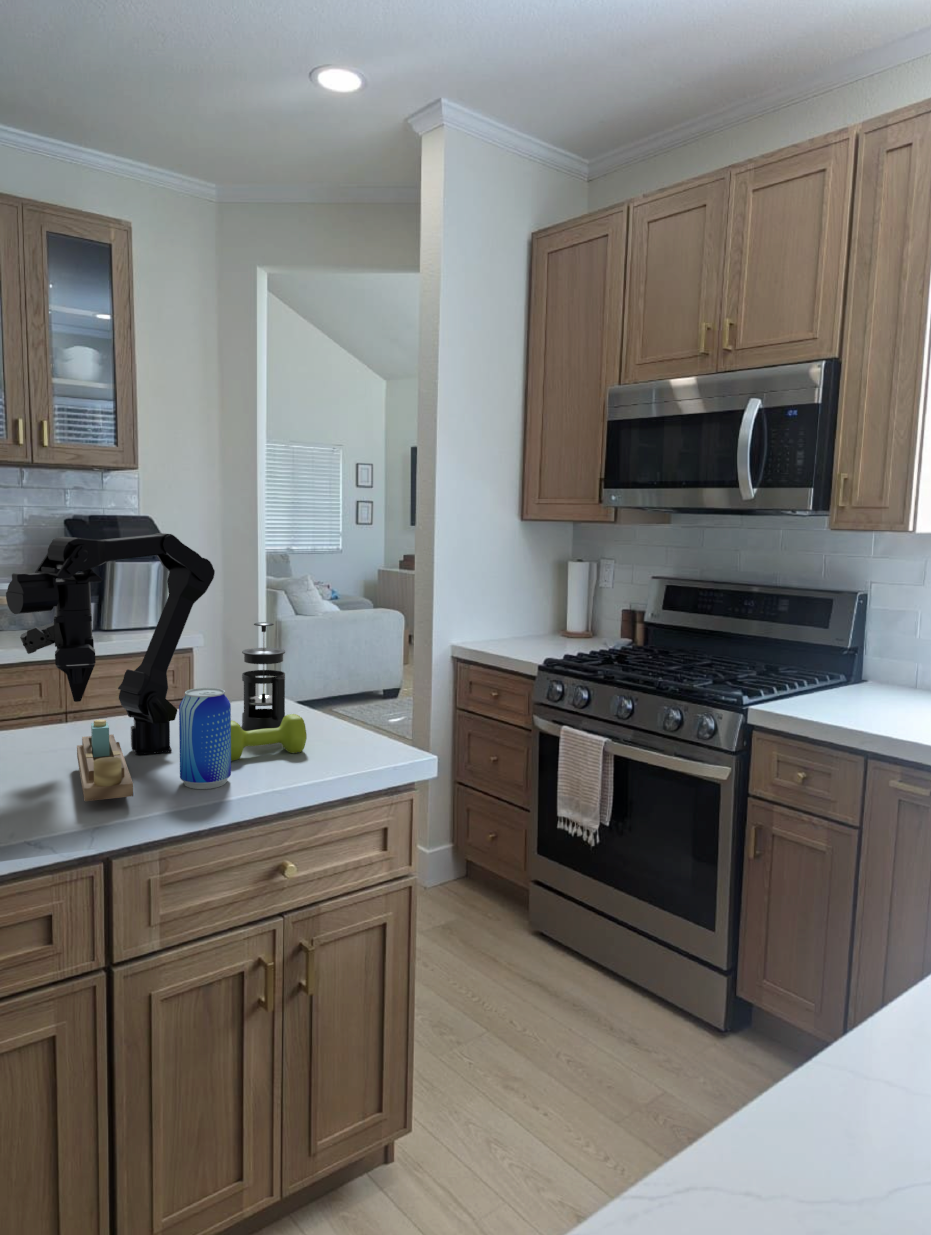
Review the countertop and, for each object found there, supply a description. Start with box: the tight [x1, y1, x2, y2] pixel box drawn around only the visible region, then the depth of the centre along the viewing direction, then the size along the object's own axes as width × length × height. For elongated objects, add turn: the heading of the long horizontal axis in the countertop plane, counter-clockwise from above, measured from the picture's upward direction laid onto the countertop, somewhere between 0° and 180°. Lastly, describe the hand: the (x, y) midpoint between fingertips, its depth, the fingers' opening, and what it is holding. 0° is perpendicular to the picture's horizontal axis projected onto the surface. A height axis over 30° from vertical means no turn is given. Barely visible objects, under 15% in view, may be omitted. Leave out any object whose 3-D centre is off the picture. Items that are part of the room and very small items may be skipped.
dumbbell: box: [231, 713, 308, 762], centre depth 168 cm, size 16×8×7 cm, turn 120°
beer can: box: [178, 687, 232, 790], centre depth 149 cm, size 8×8×16 cm
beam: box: [76, 734, 134, 802], centre depth 146 cm, size 7×26×8 cm, turn 26°
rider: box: [90, 719, 110, 757], centre depth 151 cm, size 3×4×6 cm, turn 26°
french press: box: [240, 621, 286, 731], centre depth 186 cm, size 12×9×23 cm
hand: (77, 695), depth 155 cm, fingers open, 9 cm apart
